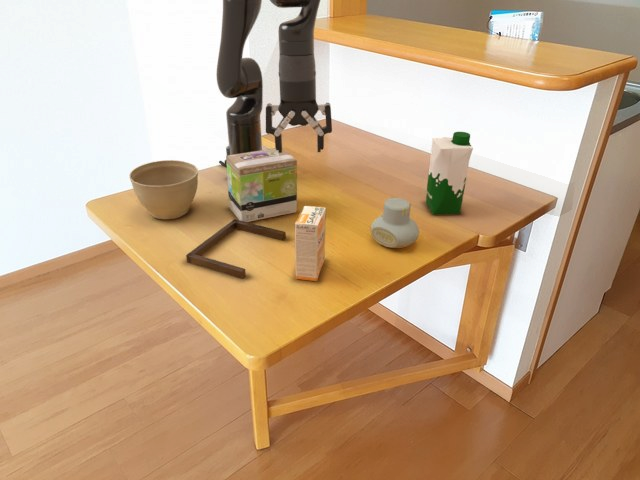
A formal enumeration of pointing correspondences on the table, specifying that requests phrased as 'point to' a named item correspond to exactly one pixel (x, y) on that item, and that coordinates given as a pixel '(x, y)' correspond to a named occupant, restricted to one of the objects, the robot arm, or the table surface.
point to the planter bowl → (165, 187)
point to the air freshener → (395, 225)
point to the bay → (197, 253)
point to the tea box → (262, 184)
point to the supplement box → (310, 242)
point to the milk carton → (448, 173)
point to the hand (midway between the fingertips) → (299, 151)
